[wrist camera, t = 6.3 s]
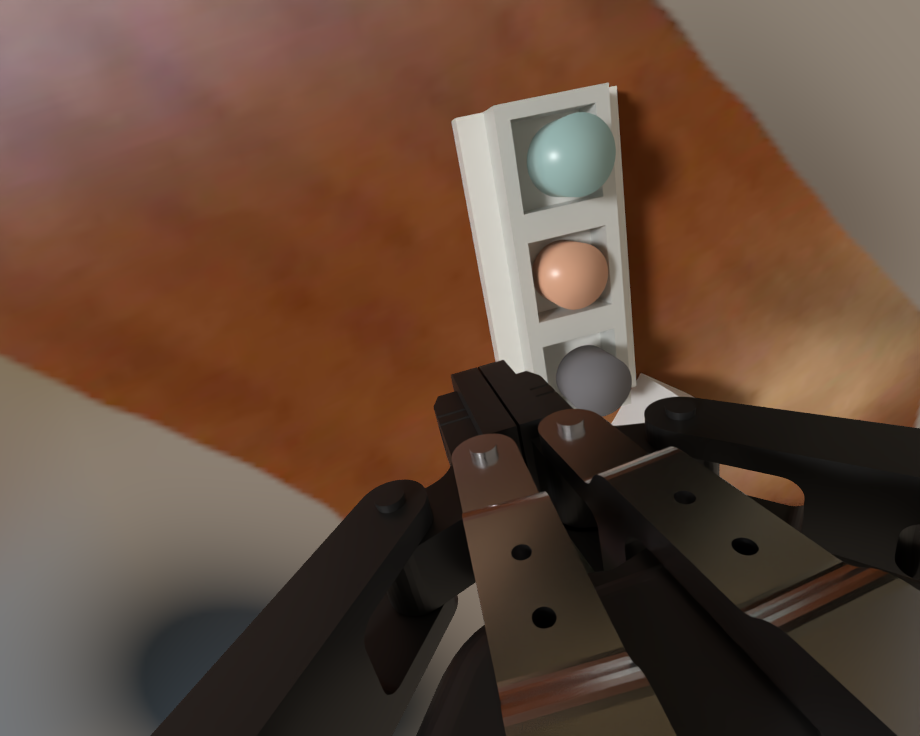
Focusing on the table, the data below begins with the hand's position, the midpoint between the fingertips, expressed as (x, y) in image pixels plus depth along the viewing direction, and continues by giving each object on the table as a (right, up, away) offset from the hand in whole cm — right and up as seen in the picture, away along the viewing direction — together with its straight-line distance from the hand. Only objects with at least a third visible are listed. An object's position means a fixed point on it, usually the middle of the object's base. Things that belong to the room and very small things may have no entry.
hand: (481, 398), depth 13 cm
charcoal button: (+9, 0, +25) cm, 26 cm away
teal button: (+6, +15, +19) cm, 25 cm away
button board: (+7, +9, +26) cm, 28 cm away
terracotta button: (+7, +8, +24) cm, 26 cm away
